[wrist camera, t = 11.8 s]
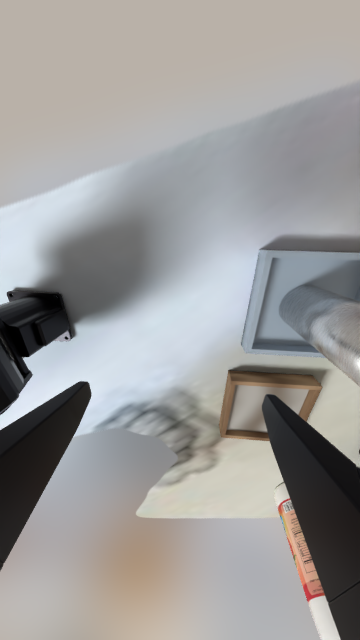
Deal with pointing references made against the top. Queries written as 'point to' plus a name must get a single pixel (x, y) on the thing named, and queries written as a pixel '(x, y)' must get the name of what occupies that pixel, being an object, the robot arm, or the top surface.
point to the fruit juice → (305, 567)
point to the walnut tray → (248, 395)
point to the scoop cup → (326, 324)
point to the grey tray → (281, 277)
